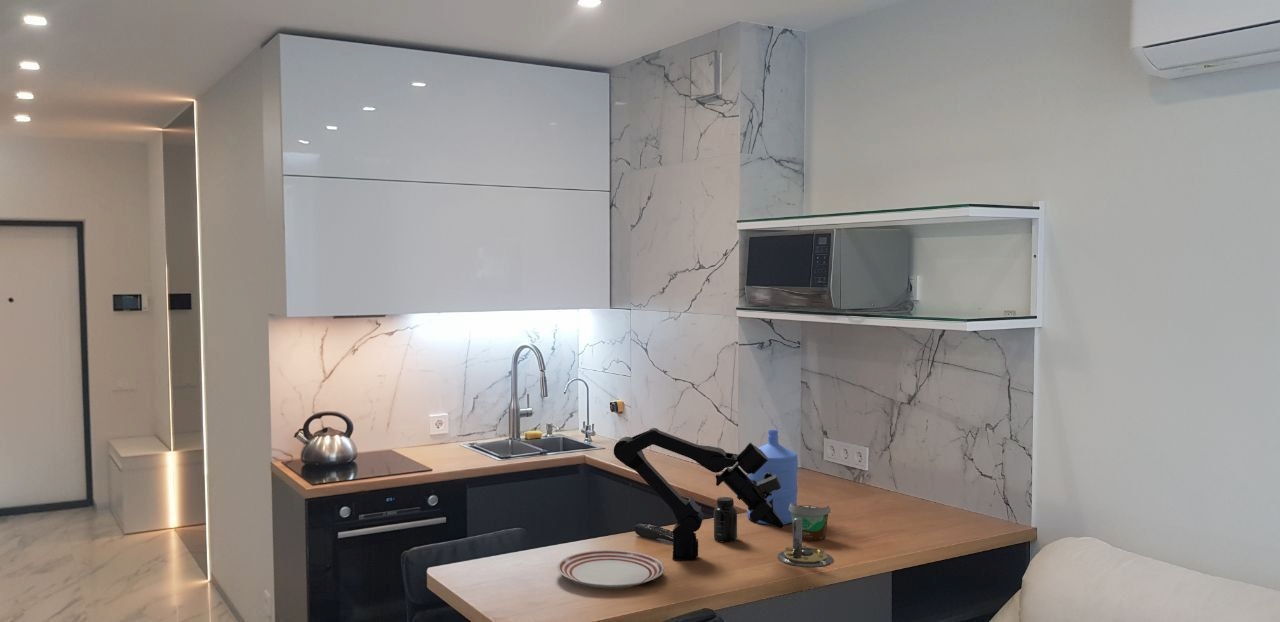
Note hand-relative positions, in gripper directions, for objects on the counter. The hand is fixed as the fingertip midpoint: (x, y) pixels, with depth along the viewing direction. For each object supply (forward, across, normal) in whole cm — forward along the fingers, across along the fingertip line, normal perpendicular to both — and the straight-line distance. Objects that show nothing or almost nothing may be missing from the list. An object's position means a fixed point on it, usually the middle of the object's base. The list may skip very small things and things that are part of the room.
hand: (783, 527), depth 265 cm
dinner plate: (-24, -20, +38) cm, 49 cm away
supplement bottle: (-5, +19, +19) cm, 27 cm away
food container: (+12, +23, +2) cm, 26 cm away
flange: (+11, +4, +2) cm, 12 cm away
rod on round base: (+11, +4, +2) cm, 12 cm away
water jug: (+4, +44, +9) cm, 45 cm away
